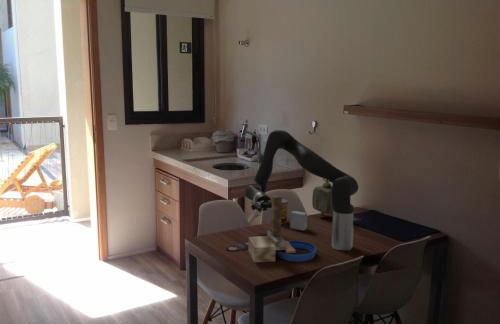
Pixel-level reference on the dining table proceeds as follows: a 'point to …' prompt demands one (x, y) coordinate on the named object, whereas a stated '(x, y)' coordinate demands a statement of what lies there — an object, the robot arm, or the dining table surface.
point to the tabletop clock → (323, 198)
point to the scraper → (276, 222)
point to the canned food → (284, 211)
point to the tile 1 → (290, 250)
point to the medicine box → (298, 220)
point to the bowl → (298, 252)
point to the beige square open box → (263, 249)
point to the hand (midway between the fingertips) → (269, 209)
